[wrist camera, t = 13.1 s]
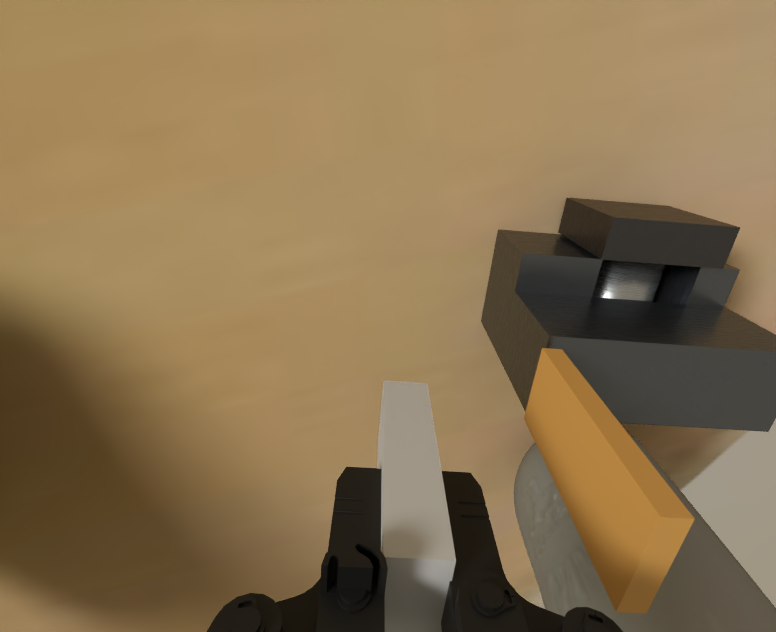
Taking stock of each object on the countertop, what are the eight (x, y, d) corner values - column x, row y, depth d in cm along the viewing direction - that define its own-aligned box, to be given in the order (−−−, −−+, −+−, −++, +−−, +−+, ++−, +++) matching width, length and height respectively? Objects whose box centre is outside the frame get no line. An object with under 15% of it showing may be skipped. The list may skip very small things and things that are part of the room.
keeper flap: (542, 419, 19) (524, 418, 18) (561, 349, 17) (542, 348, 17) (646, 613, 11) (615, 612, 11) (694, 518, 10) (660, 517, 10)
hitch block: (481, 321, 28) (528, 417, 19) (498, 229, 26) (561, 289, 17) (645, 332, 29) (768, 431, 20) (677, 243, 26) (835, 309, 17)
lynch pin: (526, 364, 29) (555, 414, 24) (566, 197, 25) (613, 217, 20) (612, 369, 30) (660, 420, 25) (668, 205, 25) (740, 227, 20)
